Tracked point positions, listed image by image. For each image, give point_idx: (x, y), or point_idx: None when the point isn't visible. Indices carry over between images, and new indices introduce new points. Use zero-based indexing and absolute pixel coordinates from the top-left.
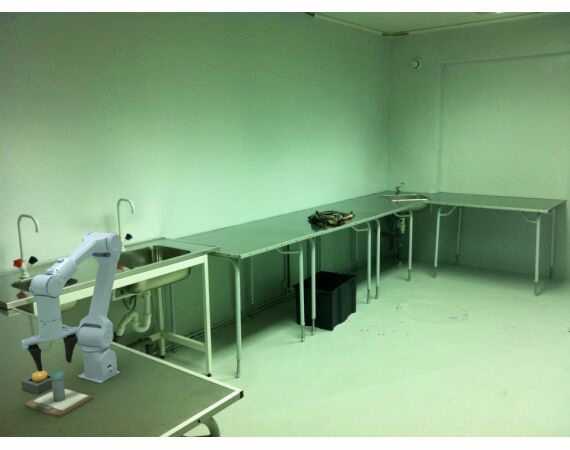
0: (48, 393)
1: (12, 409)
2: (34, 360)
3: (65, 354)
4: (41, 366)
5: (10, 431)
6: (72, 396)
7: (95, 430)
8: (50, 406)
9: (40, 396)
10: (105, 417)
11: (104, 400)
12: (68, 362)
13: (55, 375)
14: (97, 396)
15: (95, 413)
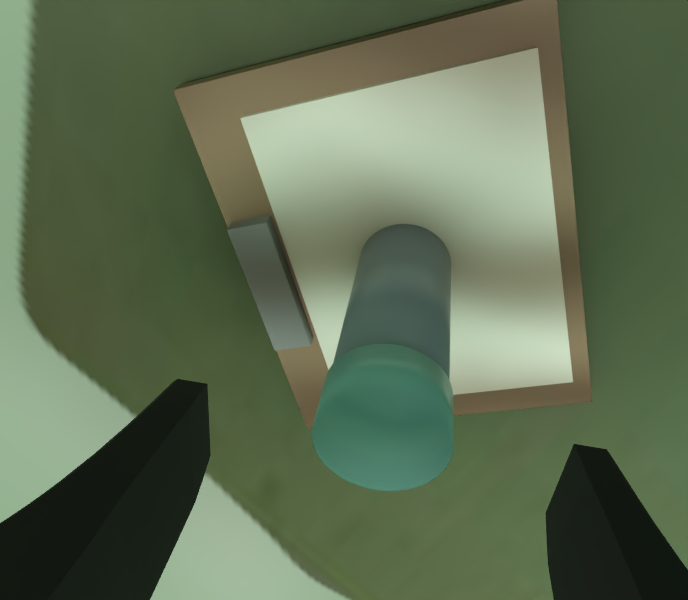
0: (393, 90)
1: (90, 44)
2: (90, 468)
3: (602, 507)
4: (179, 519)
5: (47, 325)
6: (495, 304)
7: (383, 594)
8: (298, 331)
9: (321, 72)
10: (484, 560)
11: (620, 441)
12: (550, 506)
13: (343, 467)
14: (639, 370)
15: (478, 504)
